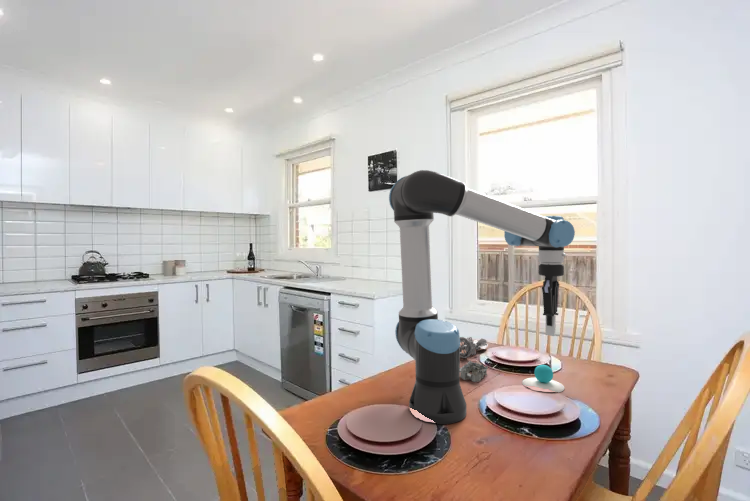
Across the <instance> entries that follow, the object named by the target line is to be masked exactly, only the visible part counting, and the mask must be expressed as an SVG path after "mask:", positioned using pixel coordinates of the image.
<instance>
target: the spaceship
mask: <svg viewBox="0 0 750 501" xmlns="http://www.w3.org/2000/svg"><path fill="white" fill-rule="evenodd" d="M488 346H489V344H488V340H486V339H485V338H481V339H480V338H479V340H477V339H476V340H473V338H472V336H469V337H465V336H460V359H461V358H462V359H468V358H469V357H471V356H473V355H476V354H477V351H479V350H481V349H482V350H483V349H484V350H486V349H487V348H488ZM462 351H463V352H462Z"/></svg>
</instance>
